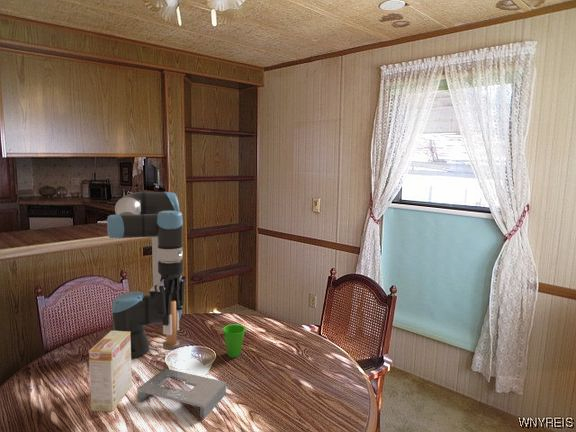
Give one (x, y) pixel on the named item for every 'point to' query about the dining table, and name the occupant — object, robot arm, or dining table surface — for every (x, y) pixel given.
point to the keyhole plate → (201, 395)
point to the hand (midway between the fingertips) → (171, 331)
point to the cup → (234, 339)
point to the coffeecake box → (110, 370)
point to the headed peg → (171, 339)
